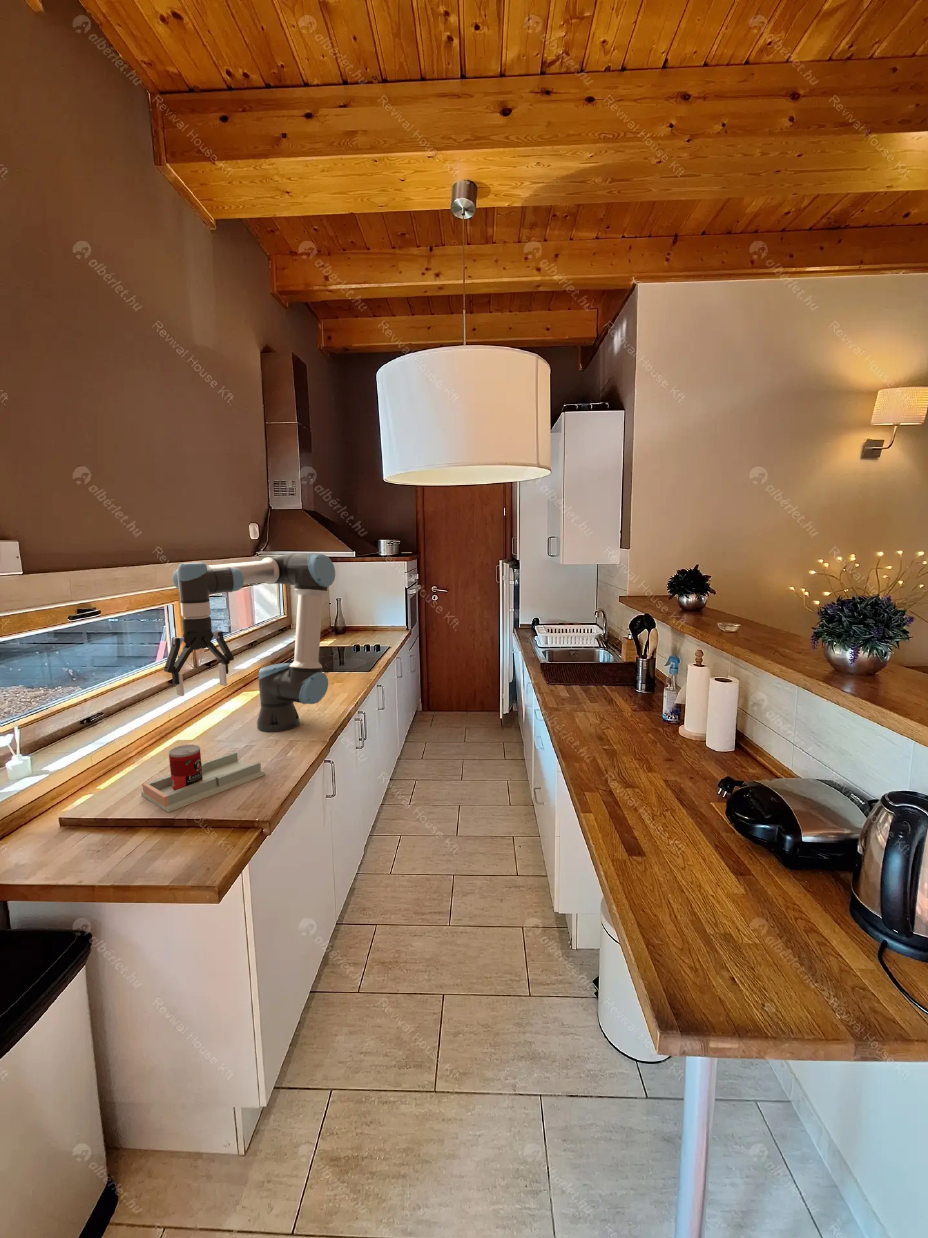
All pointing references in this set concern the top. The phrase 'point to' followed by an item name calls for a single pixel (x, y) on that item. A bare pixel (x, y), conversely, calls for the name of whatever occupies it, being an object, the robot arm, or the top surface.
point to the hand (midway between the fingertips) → (202, 690)
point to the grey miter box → (202, 782)
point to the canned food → (185, 766)
